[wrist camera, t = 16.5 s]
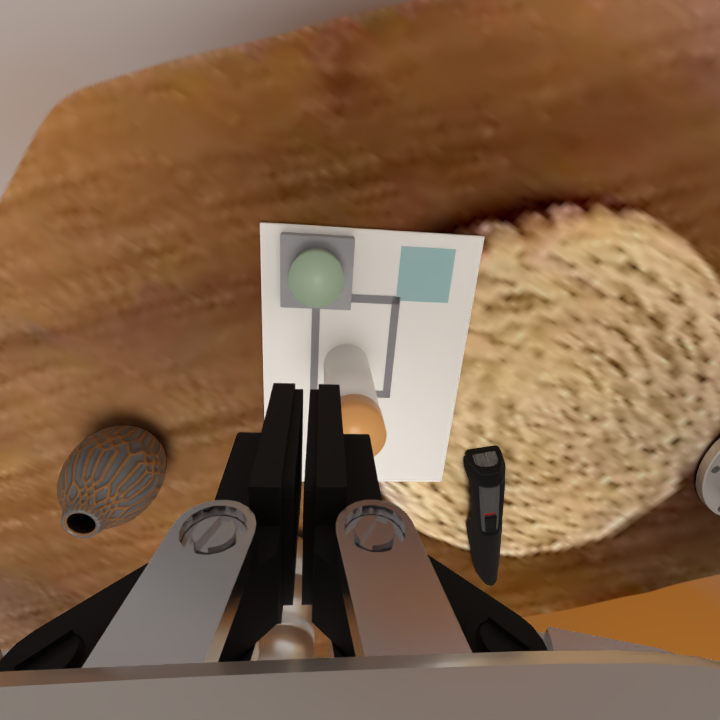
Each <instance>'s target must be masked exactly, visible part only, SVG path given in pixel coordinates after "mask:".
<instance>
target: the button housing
mask: <svg viewBox="0 0 720 720" xmlns="http://www.w3.org/2000/svg"><path fill="white" fill-rule="evenodd" d="M309 248H323V249H326V250H328V251H330V252H332V253H333V254H334V255H335V256H336V257H337V258H338V260H339V261H340V263H341V266H342V270H343V274H344V286H343V290H342V292H341V294H340V296H339V297H338V298H337V299H336V300H335V301H334V302H333V303H331V304H330V305H327V306H324V307H318V308H315V307H309V306H306V305H304V304H302V303H301V302H299V301H298V300H297V299H296V298H295V297H294V296H293V294H292V292H291V290H290V288H289V283H288V275H289V271H290V268H291V266H292V263H293V261H294V259H295V258H296V256H297V255H298V254H299V253H301V252H302V251H304V250H306V249H309ZM354 248H355V238H354V236H345V235H328V234H312V233H295V232H281V234H280V307H285V308H308V309H331V310H351V297H352V281H353V265H354Z"/></svg>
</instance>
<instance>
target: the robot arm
mask: <svg viewBox="0 0 720 720" xmlns="http://www.w3.org/2000/svg"><path fill="white" fill-rule="evenodd" d="M302 443H303V389H295V383H273V387H272V391H271V395H270V399H269V403H268V407H267V412H266V416H265V420H264V424H263V428H262V432H261V433H246V432H239V433H238V434H237V436H236V439H235V442H234V445H233V448H232V451H231V454H230V457H229V459H228V462H227V465H226V468H225V471H224V474H223V477H222V480H221V483H220V486H219V489H218V492H217V495H216V498H215V500H214V501H209V502H205V503H202V504H200V505H197V506H195V507H192V508H191V509H189V510H188V511H187V512H185V513H184V514H182V515H181V516H180V517H179V518H178V520H177V521H176V522H175V523H174V524H173V526H172V527H171V529H170V530H169V532H168V534H167V535H166V537H165V538H164V540H163V541H162V543H161V545H160V546H159V548H158V549H157V551H156V552H155V554H154V555H153V557H152V559H151V560H150V562H149V563H147V564H145V565H144V566H142V567H140V568H139V569H137V570H135V571H134V572H132V573H130V574H129V575H127V576H125V577H123V578H122V579H120V580H118V581H117V582H115V583H113V584H112V585H110V586H108V587H107V588H105V589H103V590H102V591H100V592H98V593H97V594H95V595H93V596H92V597H90V598H88V599H87V600H85V601H83V602H82V603H80V604H78V605H77V606H75V607H73V608H72V609H70V610H68V611H67V612H65V613H63V614H61V615H60V616H58V617H56V618H55V619H53V620H51V621H50V622H48V623H46V624H45V625H43V626H41V627H40V628H38V629H36V630H35V631H33V632H32V633H31V634H29V635H28V636H26V637H25V638H24V639H22V640H21V641H19V642H18V643H17V644H16V645H15V646H14V647H13V648H12V649H11V650H9V651H5V652H1V650H0V720H720V661H715V660H711V659H706V658H702V657H695V656H687V655H677V654H674V653H671V652H668V651H665V650H662V649H659V648H655V647H649V646H644V645H639V644H634V643H629V642H624V641H619V640H613V639H609V638H603V637H598V636H593V635H588V634H583V633H578V632H573V631H568V630H563V629H557V628H552V627H547V630H546V633H541V632H536V630H535V629H534V628H533V627H532V626H531V625H530V624H529V623H528V622H527V621H525V620H524V619H523V618H522V617H520V616H519V615H518V614H516V613H515V612H513V611H512V610H510V609H509V608H507V607H506V606H504V605H503V604H501V603H500V602H498V601H497V600H495V599H494V598H492V597H491V596H489V595H488V594H486V593H485V592H483V591H482V590H480V589H479V588H477V587H476V586H474V585H473V584H471V583H470V582H468V581H467V580H465V579H464V578H462V577H461V576H459V575H458V574H456V573H455V572H453V571H452V570H450V569H449V568H447V567H446V566H444V565H442V564H441V563H439V562H438V561H436V560H435V559H433V558H432V557H430V556H429V555H427V553H426V551H425V548H424V546H423V544H422V542H421V540H420V537H419V535H418V533H417V531H416V529H415V526H414V524H413V522H412V521H411V519H410V518H409V516H408V515H407V514H406V513H405V512H404V511H403V510H401V509H400V508H399V507H397V506H395V505H393V504H391V503H389V502H385V501H382V500H381V494H380V489H379V483H378V478H377V472H376V467H375V461H374V456H373V450H372V445H371V439H370V435H369V434H343V423H342V410H341V397H340V385H337V384H319V386H318V390H317V389H310V398H309V414H308V430H307V446H306V462H305V478H304V505H303V555H302V605H312V623H313V624H315V625H316V626H317V627H318V628H319V629H320V630H321V631H322V632H323V633H324V634H325V635H326V636H327V637H328V638H329V655H330V658H311V659H285V660H260V661H257V660H258V656H259V652H260V644H261V638H262V637H263V636H264V635H265V634H267V633H268V632H269V631H270V630H271V629H272V628H273V627H274V626H275V625H277V624H281V622H282V612H283V606H284V605H293V600H294V586H295V572H296V558H297V543H298V529H299V515H300V501H301V486H302ZM696 490H697V494H698V496H699V498H700V500H701V501H702V502H703V503H704V504H705V505H706V506H707V507H708V508H709V509H710V510H712V511H713V512H714V513H715V514H717V515H720V438H719V439H718V440H717V441H716V442H715V443H714V444H713V445H712V446H711V448H710V449H709V450H708V452H707V453H706V454H705V456H704V458H703V460H702V462H701V463H700V465H699V469H698V472H697V475H696Z"/></svg>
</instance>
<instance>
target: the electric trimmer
mask: <svg viewBox="0 0 720 720" xmlns="http://www.w3.org/2000/svg"><path fill="white" fill-rule="evenodd" d="M464 467H465V470H466V473H467V475H468V477H469V480H470V490H471V505H472V510H471V518H470V519H469V521H468V522H467V532H468V537H469V543H470V548H471V553H472V559H473V564H474V568H475V571H476V573H477V574H478V575H479V577H480V578H481V579H482V581H483V582H484V583H485V584H487V585H493V584H495V582H496V580H497V573H498V565H499V555H500V544H501V533H502V515H503V503H504V490H505V462H504V459H503V456H502V453H501V450H500V448H499V447H497V446H488V447H482V448H476V449H469V450H467V452H466V456H464Z"/></svg>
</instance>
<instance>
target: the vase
mask: <svg viewBox="0 0 720 720" xmlns="http://www.w3.org/2000/svg"><path fill="white" fill-rule="evenodd" d="M166 465H167V462H166V455H165V451H164V449H163V447H162V445H161V443H160V442H159V441H158V439H157V438H156V437H155V436H153V435H152V434H151V433H149V432H148V431H146V430H144V429H142V428H139V427H135V426H128V425H118V426H112V427H108V428H105V429H102V430H100V431H98V432H96V433H94V434H92V435H91V436H89V437H88V438H86V439H85V440H84V441H83V442H81V443H80V444H79V445H78V446H77V447H76V448H75V449H74V450H73V451H72V453H71V454H70V455H69V457H68V458H67V460H66V461H65V463H64V465H63V467H62V470H61V472H60V475H59V479H58V484H57V495H58V500H59V503H60V506H61V509H62V519H61V523H62V526H63V528H64V529H65V531H66V532H68V533H69V534H71V535H73V536H76V537H80V538H87V537H91V536H94V535H95V534H97V533H99V532H100V531H102V530H104V529H108V528H112V527H116V526H119V525H122V524H124V523H126V522H128V521H130V520H132V519H134V518H135V517H137V516H138V515H139V514H140V513H142V512H143V511H144V510H145V509H146V508H147V507H148V506H149V505H150V504H151V503H152V501H153V500H154V499H155V497H156V496H157V494H158V492H159V491H160V488H161V486H162V484H163V481H164V479H165V474H166Z"/></svg>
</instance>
